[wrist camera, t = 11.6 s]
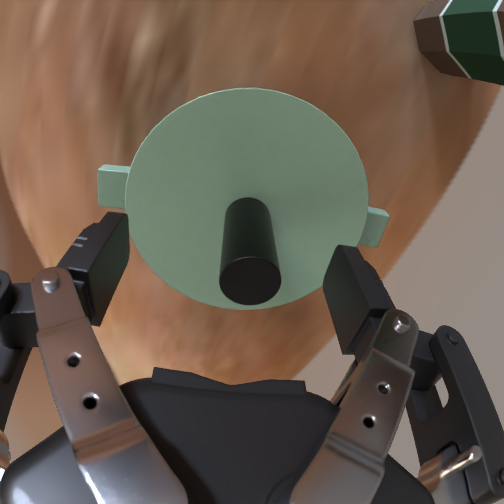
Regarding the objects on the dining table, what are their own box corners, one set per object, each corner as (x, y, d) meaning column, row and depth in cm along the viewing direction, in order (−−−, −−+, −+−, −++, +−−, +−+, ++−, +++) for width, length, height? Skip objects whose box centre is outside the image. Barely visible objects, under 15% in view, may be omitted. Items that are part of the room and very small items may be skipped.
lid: (139, 74, 13) (76, 79, 7) (391, 123, 14) (463, 159, 9) (133, 284, 20) (104, 359, 14) (322, 308, 22) (342, 383, 16)
